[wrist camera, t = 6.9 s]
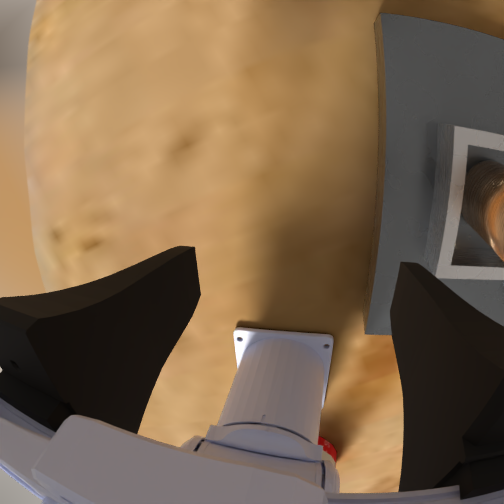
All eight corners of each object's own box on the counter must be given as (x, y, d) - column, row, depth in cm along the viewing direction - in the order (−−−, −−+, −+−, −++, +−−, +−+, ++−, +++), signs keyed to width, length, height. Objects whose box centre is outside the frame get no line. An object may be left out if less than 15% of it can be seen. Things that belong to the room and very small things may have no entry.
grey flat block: (527, 313, 19) (551, 349, 15) (362, 313, 23) (367, 359, 18) (566, 75, 11) (606, 77, 6) (373, 23, 14) (388, -2, 10)
